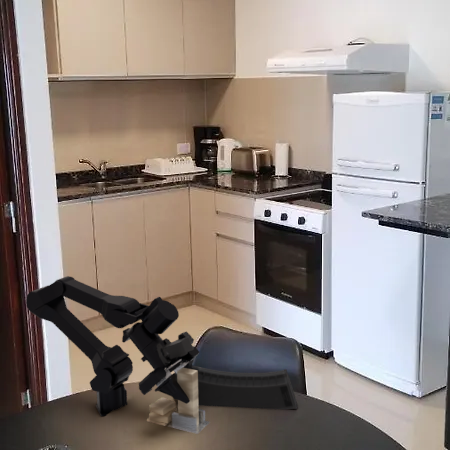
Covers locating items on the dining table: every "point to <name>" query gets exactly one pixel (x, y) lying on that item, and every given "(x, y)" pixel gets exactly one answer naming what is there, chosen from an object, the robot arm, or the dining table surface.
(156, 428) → the dining table surface
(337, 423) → the dining table surface
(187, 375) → the beige rectangular block
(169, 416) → the offcut stack
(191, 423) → the rack
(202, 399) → the black curved panel
